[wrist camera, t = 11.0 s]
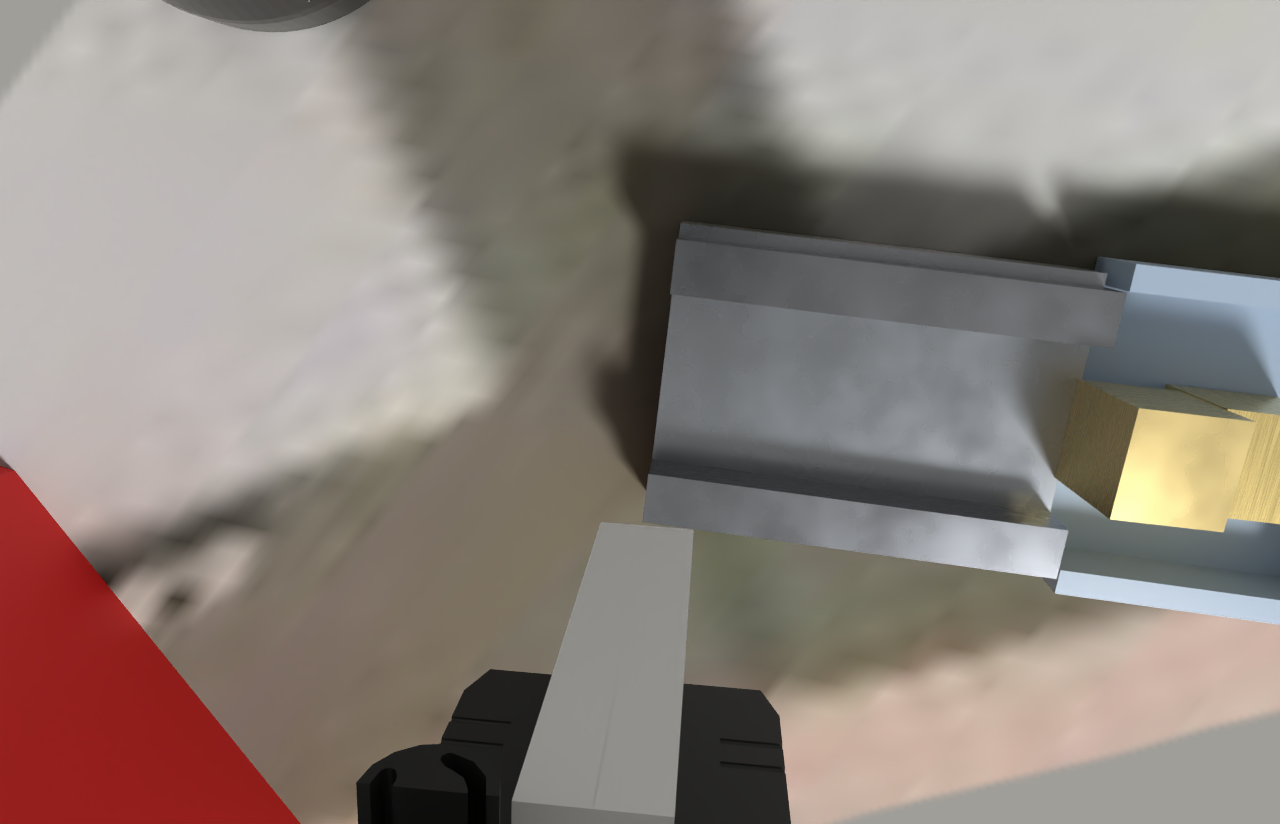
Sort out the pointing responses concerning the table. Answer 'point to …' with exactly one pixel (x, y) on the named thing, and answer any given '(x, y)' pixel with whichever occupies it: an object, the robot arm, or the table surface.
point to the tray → (1155, 356)
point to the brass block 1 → (1153, 455)
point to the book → (100, 700)
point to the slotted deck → (871, 395)
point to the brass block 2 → (1252, 452)
